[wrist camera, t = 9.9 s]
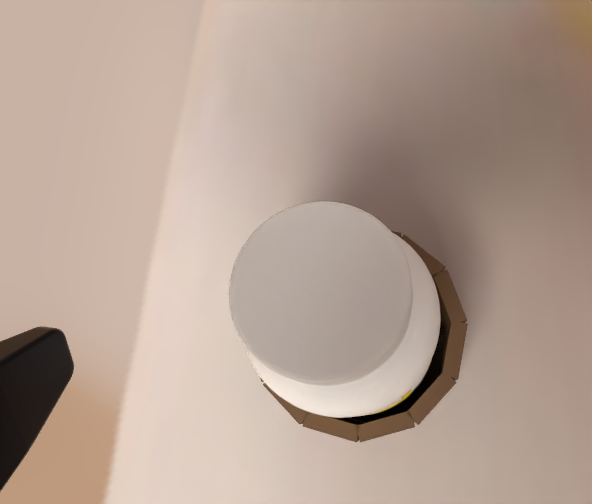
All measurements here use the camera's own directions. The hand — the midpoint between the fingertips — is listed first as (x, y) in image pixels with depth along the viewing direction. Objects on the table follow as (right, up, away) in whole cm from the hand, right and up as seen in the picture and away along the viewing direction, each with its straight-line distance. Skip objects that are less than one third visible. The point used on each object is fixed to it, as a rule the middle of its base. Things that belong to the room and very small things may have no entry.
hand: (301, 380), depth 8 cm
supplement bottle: (+3, -2, +12) cm, 12 cm away
